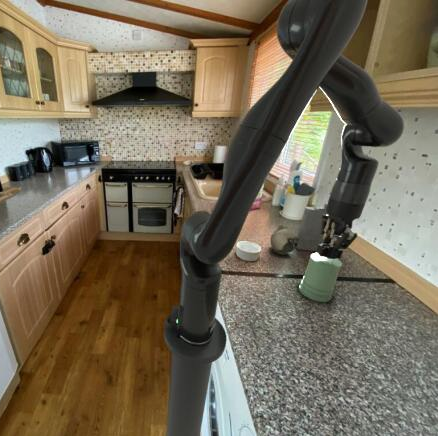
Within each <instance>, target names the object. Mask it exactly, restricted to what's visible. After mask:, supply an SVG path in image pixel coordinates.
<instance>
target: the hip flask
mask: <svg viewBox="0 0 438 436" xmlns="http://www.w3.org/2000/svg"><path fill="white" fill-rule="evenodd" d="M327 203H328V201H327V202H325V203H324V206H305V208H304V211H303V213H302V218H301V222H300V225H299V229H298V232H297V234H296V235H297V236H298V238H299V241H298V246H297V247H296V248H295V249H298V250H302V251H310V252H311V251H312V252H316V251H317V248H318V245H319V244H321V243H323V241H324V239H323V235H321V224H322V215H329V214H328V213H327V212H326V207H327ZM336 236H342V235H336ZM337 241H338V240H336V242H337ZM336 242H335V243H336Z"/></svg>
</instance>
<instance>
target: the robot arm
mask: <svg viewBox="0 0 438 436" xmlns="http://www.w3.org/2000/svg"><path fill="white" fill-rule="evenodd" d="M367 5H368V0H288V1H287V2H286V3H285V5H283V7H282V9H281V11H280V13H279V16H278V19H277V23H276V38H277V41H278V44H279V46H280V48H281V49H282V50H283V52H284V53H285V54H286V55H287V56H288V57H289V58H290V59H291V62H290V64H289V65H288V66H287V68H286V70H285V71H284V73H283V74H282V75H281V76H280V77H279V78H278V80H277V81H276V82H274V84H273V85H271V87H270V88H269V89H268V90H267V91H266V92H265V93H264V94H263V95H261V97H259V99H257V100H256V102H255V103H254V104H253V105H251V107H250V108H249V109H248V110H247V111H246V113H245V114H244V115H243V117H242V119H241V120H240V122H239V123H238V126H237V128H236V130H235V132H234V134H233V136H232V138H231V139H230V142H229V145H228V147H227V150H226V153H225V156H224V157H225V158H224V162H223V168H222V169H223V170H222V179H221V187H220V192H219V194H218V198H217V200H216V203H215V204H214V207H213V208H212V210H211V211H208V210H197V211H194V212H193V213H191V214H189V215H188V216H187V217H186V218H185V220H184V222H183V224H182V227H181V231H180V244H179V264H180V269H181V275H180V276H181V279H180V291H179V301H178V306H177V305H172V306H171V314H170V315H168V316H167V317H166V320H167V322H168V323H169V324H170V329H176V330H177V335H176V337H177V338H181V339H182V340H183V341H184V342H186V343H187V344H190V345H193V346H203V345H206V344H208V343H209V342H210V341H211V340H212V337H213V329H214V326H215V325H216V322H215V318H216V314H217V310H218V302H219V296H220V290H221V284H222V276H223V272H222V271H223V270H222V268H221V264H220V263H221V262H222V261H224V260H225V259H226V258H227V257H228V256H229V255H230V254H231V252H232V251H233V249H234V247H235V246H236V244H237V241H238V239H239V237H240V234H241V232H242V230H243V227H244V224H245V222H246V220H247V218H248V215H249V213H250V211H251V210H250V209H251V207H252V205H253V203H254V201H255V199H256V197H257V195H258V193H259V191H260V190H261V188H262V186H263V184H264V185H265V183H266V180H267V178H268V177H269V174H270V173H271V171H272V169H273V168H274V166H275V165H276V163H277V161H278V159H279V158H280V156H281V154H282V152H283V151H284V149H285V147H286V145H287V143H288V141H289V139H290V137H291V135H292V133H293V132H294V130H295V128H296V126H297V124H298V123H299V121H300V120H301V117H302V115H303V114H304V113H305V110H306V109H307V107H308V105H309V104H310V102H311V101H312V99H313V97H314V95H315V94H316V92H317V91H318V89H320V90H321V91H322V92H323V94H324V95H325V96H326V97H327V99H328V100H329V102H330V103H331V105H332V107H333V109H334V111H335V112H336V114H337V115H338V117H339V118H340V120H341V121H342V122H343V123H344V126H343V129H342V132H341V163H340V167H339V170H338V173H337V176H336V180H335V182H334V183H333V185H332V188H331V191H330V194H329V197H328V200H327V202H328V203H327V207H326V212H327V213H328V214H329V215H322V224H321V235H323V239H324V241H323V243H325V244H330V246H329V249H328V252H327V255H326V257H327V258H328V259H336V257H337V254H338V252H339V249H342V250H347V249H348V248H349V247H350V246H351V245H352V243H353V242H354V241H355V240H356V239H357V238H358V233H357V232H353V231H352V228H353V221H355V220H359V219H360V218H361V216H362V215H363V214H362V213H363V211H364V208H365V206H366V203H367V201H368V197H369V196H370V193H371V187H372V183H373V181H374V178H375V176H376V174H377V170H378V168H379V165H380V164H379V160H378V159H376V158H374V157H372V156H369V155H366V154H365V153H364V150H363V147H367V148H377V149H378V148H380V149H382V148H387V147H390V146H392V145H394V144H395V143H397V142H398V141H399V140H400V138H401V137H402V135H403V134H404V130H405V122H404V118H403V117H402V115H401V114H400V112H398V110H396V109H395V108H394V107H393V106H392V105H391V104H390V103H389V102H387V101H385V100H384V99H383V98H382V96H381V95H380V92H379V90H378V87H377V85H376V82H375V80H374V79H373V78H372V76H371V75H370V74H369V73H368V72H367V71H366V70H365V69H364V68H362V67H361V66H360V65H358V64H357V63H355V62H353V61H352V60H350V59H349V58H347V57H346V56H345V55H343V54H342V53H343V52H344V50H345V49H346V47H347V46H348V44H349V42H350V41H351V39H352V38H353V36H354V35H355V33H356V31H357V29H358V28H359V25H360V23H361V21H362V19H363V17H364V14H365V11H366V9H367ZM264 182H265V183H264ZM336 235H342V236H336ZM336 240H338V241H337V242H336ZM335 242H336V243H335ZM214 322H215V324H214Z"/></svg>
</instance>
